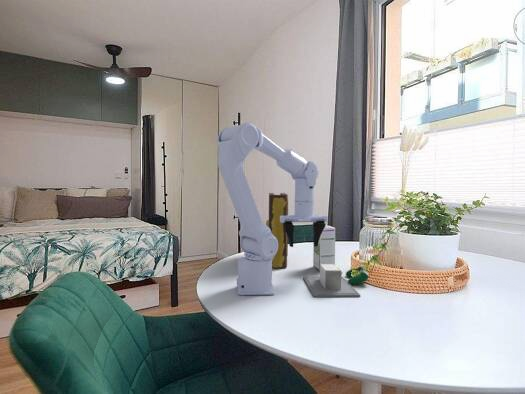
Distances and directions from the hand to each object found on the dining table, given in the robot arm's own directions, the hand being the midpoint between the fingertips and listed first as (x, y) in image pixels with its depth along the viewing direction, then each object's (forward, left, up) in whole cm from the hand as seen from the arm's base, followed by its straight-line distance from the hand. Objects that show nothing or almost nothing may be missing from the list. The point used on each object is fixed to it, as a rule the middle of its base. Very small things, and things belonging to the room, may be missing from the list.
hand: (303, 245), depth 92 cm
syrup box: (+9, +10, -10) cm, 17 cm away
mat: (+6, -8, -10) cm, 14 cm away
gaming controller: (+16, -3, -10) cm, 19 cm away
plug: (+6, -7, -9) cm, 13 cm away
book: (-6, +21, -10) cm, 24 cm away
